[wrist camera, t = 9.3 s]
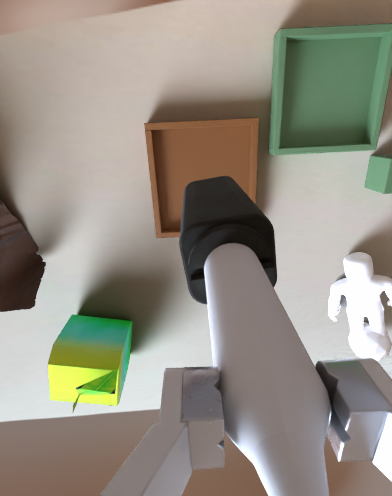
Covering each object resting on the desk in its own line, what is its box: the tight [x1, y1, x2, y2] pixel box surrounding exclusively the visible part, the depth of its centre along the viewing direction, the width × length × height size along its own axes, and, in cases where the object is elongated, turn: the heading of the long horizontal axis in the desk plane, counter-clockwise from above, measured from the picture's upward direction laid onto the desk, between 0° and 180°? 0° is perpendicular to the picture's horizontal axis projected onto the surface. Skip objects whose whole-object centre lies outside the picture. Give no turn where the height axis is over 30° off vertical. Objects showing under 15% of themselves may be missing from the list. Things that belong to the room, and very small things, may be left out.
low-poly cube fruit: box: [48, 315, 133, 411], centre depth 44 cm, size 11×10×15 cm
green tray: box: [268, 23, 392, 155], centre depth 35 cm, size 14×14×3 cm
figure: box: [328, 252, 392, 361], centre depth 47 cm, size 11×6×20 cm
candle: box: [179, 176, 331, 496], centre depth 16 cm, size 5×5×25 cm
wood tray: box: [144, 118, 259, 238], centre depth 40 cm, size 16×15×2 cm
